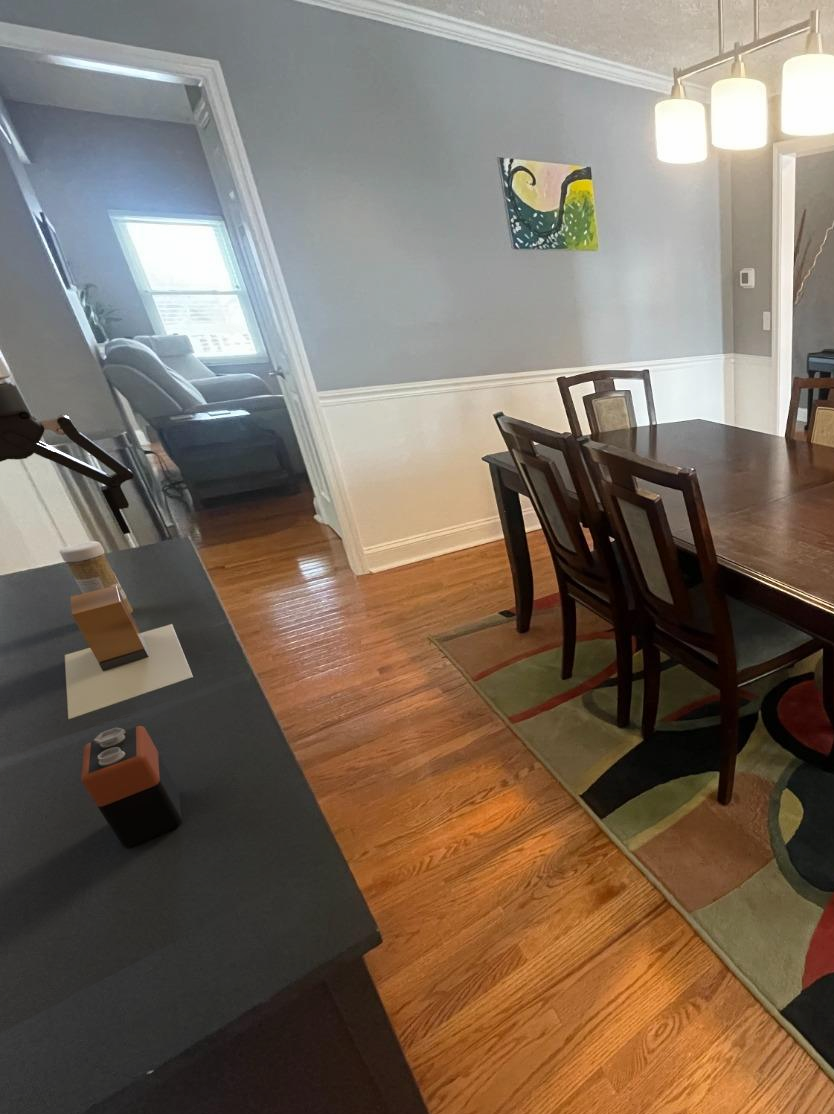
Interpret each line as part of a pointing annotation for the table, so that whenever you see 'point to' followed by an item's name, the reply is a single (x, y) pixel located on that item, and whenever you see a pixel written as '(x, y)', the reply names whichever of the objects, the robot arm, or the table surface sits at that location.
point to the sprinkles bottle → (91, 567)
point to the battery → (131, 785)
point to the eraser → (108, 627)
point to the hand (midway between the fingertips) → (57, 546)
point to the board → (124, 673)
